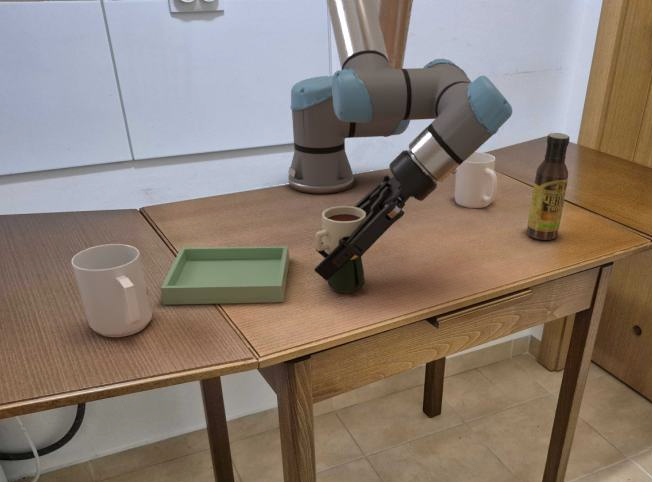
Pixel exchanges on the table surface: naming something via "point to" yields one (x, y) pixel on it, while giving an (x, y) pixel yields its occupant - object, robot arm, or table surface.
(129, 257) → the mug
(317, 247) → the character mug
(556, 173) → the sauce bottle
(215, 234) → the table surface
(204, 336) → the table surface
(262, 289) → the tray
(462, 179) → the cup
